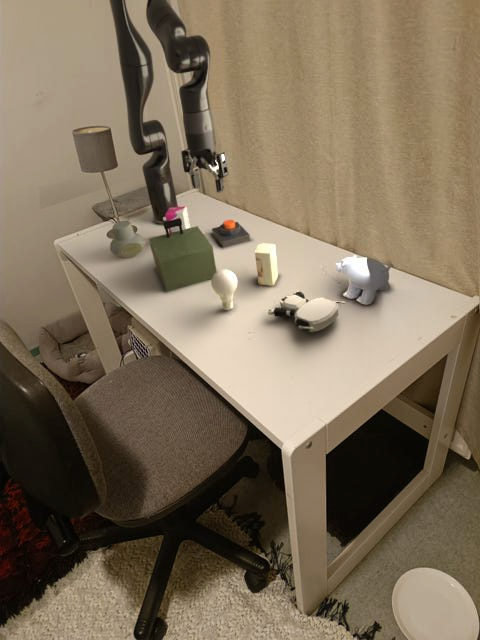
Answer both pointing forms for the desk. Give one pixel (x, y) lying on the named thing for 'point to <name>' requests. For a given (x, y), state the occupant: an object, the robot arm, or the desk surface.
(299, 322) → the robot toy
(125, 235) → the air freshener
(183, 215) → the supplement box
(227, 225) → the release button
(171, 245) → the green handled lid
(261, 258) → the cream cardboard box
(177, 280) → the green box
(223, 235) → the control block
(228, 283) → the lightbulb
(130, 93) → the robot arm
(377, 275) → the white animal-shaped figure
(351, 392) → the desk surface
